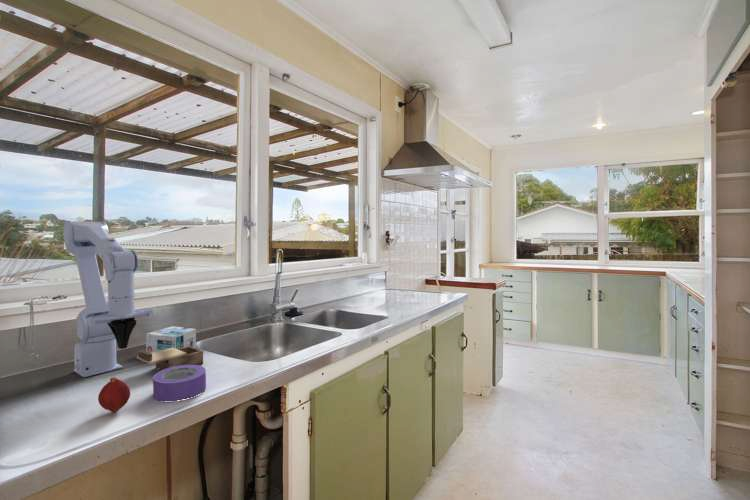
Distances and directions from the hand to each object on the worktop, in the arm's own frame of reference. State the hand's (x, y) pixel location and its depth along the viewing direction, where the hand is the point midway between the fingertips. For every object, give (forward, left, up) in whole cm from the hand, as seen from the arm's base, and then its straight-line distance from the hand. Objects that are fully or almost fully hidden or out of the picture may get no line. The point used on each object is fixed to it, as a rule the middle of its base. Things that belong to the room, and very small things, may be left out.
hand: (122, 347), depth 100 cm
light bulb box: (+26, +18, -6) cm, 32 cm away
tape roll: (+6, -18, -10) cm, 21 cm away
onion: (-8, -17, -9) cm, 21 cm away
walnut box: (+15, 0, -9) cm, 18 cm away
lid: (+10, 0, -5) cm, 11 cm away
